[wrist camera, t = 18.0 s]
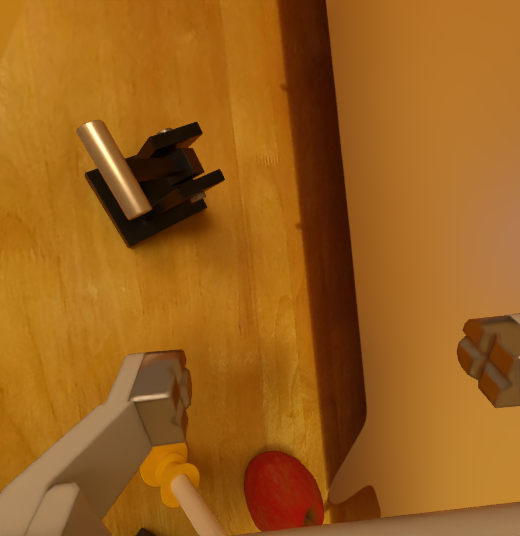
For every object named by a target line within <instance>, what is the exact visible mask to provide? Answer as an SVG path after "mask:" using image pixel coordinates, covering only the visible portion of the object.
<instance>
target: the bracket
mask: <svg viewBox="0 0 520 536" xmlns="http://www.w3.org/2000/svg"><path fill="white" fill-rule="evenodd" d="M202 134H203V133H202V131H201V129H200V127H199V125H198V123H197V122H194V123H191V124H188V125H185V126H182V127H179V128H176V129H173V130H172V129H171V128H167V129H164V130H162V131H160V132H158V133H157V134H156V135H154V136H151V137H149V138H148V139H147V141H146V142H145V144H144V145H143V147H142V148H141V150H140V151H139V152H138V154H137V155H135V156H132V157H129V158H126V159H138V158H163V157H165V156H167V155H168V154H170V153H172V152H174V151H176V150H177V149H179V148H181V147H183V148H188V147H189V146H190V145H191V144H192V143H193V142H194V141H196V140H197V139H198V138H199V137H200V136H201V135H202ZM85 178H86V180H87V181H88V183H89V185H90V186H91V188H92V189H93V191H94V193H95V194H96V196H97V198H98V199H99V201H100V203H101V204H102V206H103V208H104V209H105V211H106V213H107V214H108V216H109V217H110V219H111V221H112V222H113V224H114V226H115V227H116V229H117V231H118V232H119V234H120V236H121V237H122V239H123V240H124V242H125V244H126V245H127V247H130V246H132V245H134V244H136V243H138V242H140V241H142V240H144V239H146V238H148V237H150V236H152V235H154V234H156V233H158V232H160V231H162V230H164V229H166V228H168V227H170V226H172V225H174V224H176V223H178V222H180V221H181V220H183V219H185V218H187V217H189V216H191V215H193V214H195V213H197V212H199V211H201V210H203V209H205V208H207V206H206V204H205V202H204V200H203V198H204V197H206V195H205V193H204V192H205V191H207V190H209V189H210V188H212V187H214V186H215V185H217V184H219V183H221V182H222V181H224V180H225V178H224V176H223V174H222V172H221V170H220V169H218V170H216V171H214V172H211V173H209V174H207V175H204V176H202V177H200V178H198V179H195V180H193V179H191V180H189V181H187V182H185V183H183V184H179V185H175V186H170V185H169V183H168V181H167V179H166V178H160V179H154V180H147V181H141V182H138V184H139V185H140V187H141V189H142V191H143V193H144V194H145V196H146V198H147V200H148V201H149V203H150V205H151V207H152V210H150V211H148V212H146V213H145V214H142V215H140V216H138V217H136V218H134V219H131V220H128V218H127V217H126V215H125V213H124V212H123V210H122V208H121V207H120V205H119V203H118V202H117V200H116V198H115V196H114V195H113V193H112V191H111V190H110V188H109V186H108V185H107V183H106V181H105V180H104V178H103V176H102V175H101V173H100V171H99V169H95V170H92V171H89V172H86V173H85Z"/></svg>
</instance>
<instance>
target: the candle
mask: <svg viewBox="0 0 520 536" xmlns="http://www.w3.org/2000/svg"><path fill="white" fill-rule="evenodd" d="M152 448H153V449H152V451H151V452H150V453H149V455H148V456H147V458H146V459H145V460H144V462H143V463H142V465H141V466H140V467H139V471H140V476H141V478H142V479H143V481H144V482H145V483H146V484H147V485H149V486H152V487H161V488H160V496H161V500H162V502H163V503H164V504H165V505H166V506H167V507H171V508H175V507H179V506H181V507H182V509H183V510H184V512H185V514H186V515H187V517H188V519H189V520H190V522H191V523H192V525H193V527H194V528H195V530H196V532H197V533H198V535H199V536H228V535H227V534H226V532H225V531H224V529H223V528H222V526H221V525H220V524H219V522H218V521H217V519H216V518H215V516H214V515H213V513H212V512H211V510H210V509H209V508H208V506H207V505H206V503H205V502H204V500H203V499H202V497H201V496H200V495H199V493H198V492H197V488H198V485H199V482H200V475H199V471H198V469H197V468H196V467H195V466H194V465H193V464H190V463H186V462H187V458H188V449H187V445H186V444H185V442H184V443H177V444H169V445H162V446H155V447H152Z"/></svg>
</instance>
